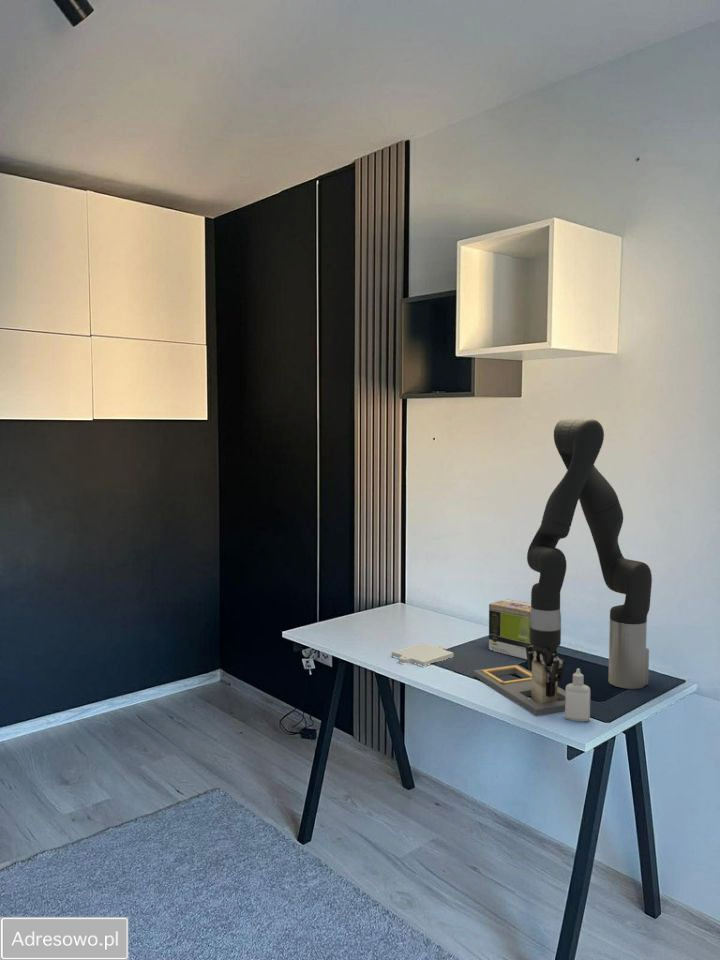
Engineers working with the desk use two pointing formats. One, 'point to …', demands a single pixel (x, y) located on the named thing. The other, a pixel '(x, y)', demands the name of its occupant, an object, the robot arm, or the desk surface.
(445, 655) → the mounting plate
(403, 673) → the desk surface
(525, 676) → the dock
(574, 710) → the eye dropper bottle
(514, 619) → the tea box
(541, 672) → the plug
